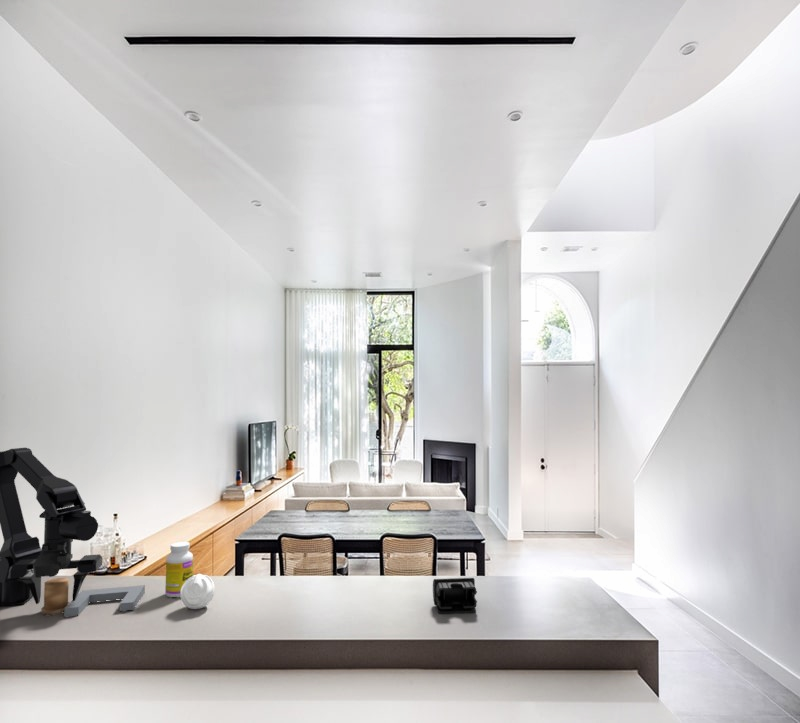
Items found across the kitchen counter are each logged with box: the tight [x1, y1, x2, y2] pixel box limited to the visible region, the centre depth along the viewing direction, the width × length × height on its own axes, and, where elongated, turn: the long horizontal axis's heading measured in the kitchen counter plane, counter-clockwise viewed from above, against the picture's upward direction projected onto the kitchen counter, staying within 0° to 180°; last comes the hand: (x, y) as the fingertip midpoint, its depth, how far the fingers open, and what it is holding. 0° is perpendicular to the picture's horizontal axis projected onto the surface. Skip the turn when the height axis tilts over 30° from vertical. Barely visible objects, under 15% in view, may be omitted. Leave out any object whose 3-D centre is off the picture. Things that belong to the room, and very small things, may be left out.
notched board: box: [63, 584, 146, 618], centre depth 135 cm, size 15×12×2 cm
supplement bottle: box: [164, 541, 194, 598], centre depth 142 cm, size 7×7×13 cm
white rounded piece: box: [179, 573, 215, 610], centre depth 132 cm, size 8×8×8 cm
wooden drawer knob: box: [40, 577, 71, 616], centre depth 131 cm, size 6×6×7 cm
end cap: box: [432, 577, 478, 615], centre depth 131 cm, size 10×7×7 cm
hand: (56, 601), depth 131 cm, fingers open, 8 cm apart
